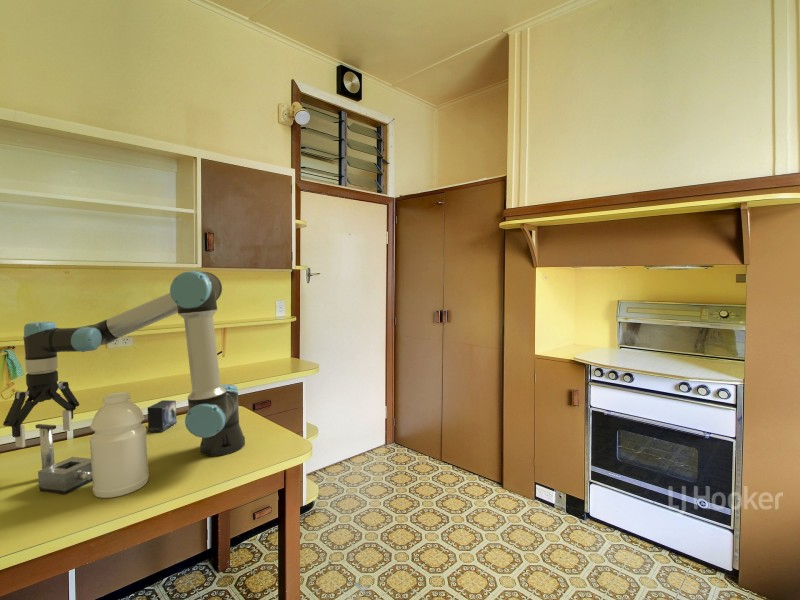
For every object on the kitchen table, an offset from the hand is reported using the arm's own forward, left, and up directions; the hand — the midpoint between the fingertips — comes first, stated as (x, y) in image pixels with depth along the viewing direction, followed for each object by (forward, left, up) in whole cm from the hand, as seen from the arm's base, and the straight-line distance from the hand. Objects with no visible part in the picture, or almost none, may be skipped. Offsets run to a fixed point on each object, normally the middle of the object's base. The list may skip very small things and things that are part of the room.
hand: (45, 438), depth 127 cm
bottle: (-29, 0, -13) cm, 32 cm away
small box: (-1, -44, -13) cm, 46 cm away
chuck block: (-13, +2, -13) cm, 18 cm away
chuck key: (0, 0, -13) cm, 13 cm away
